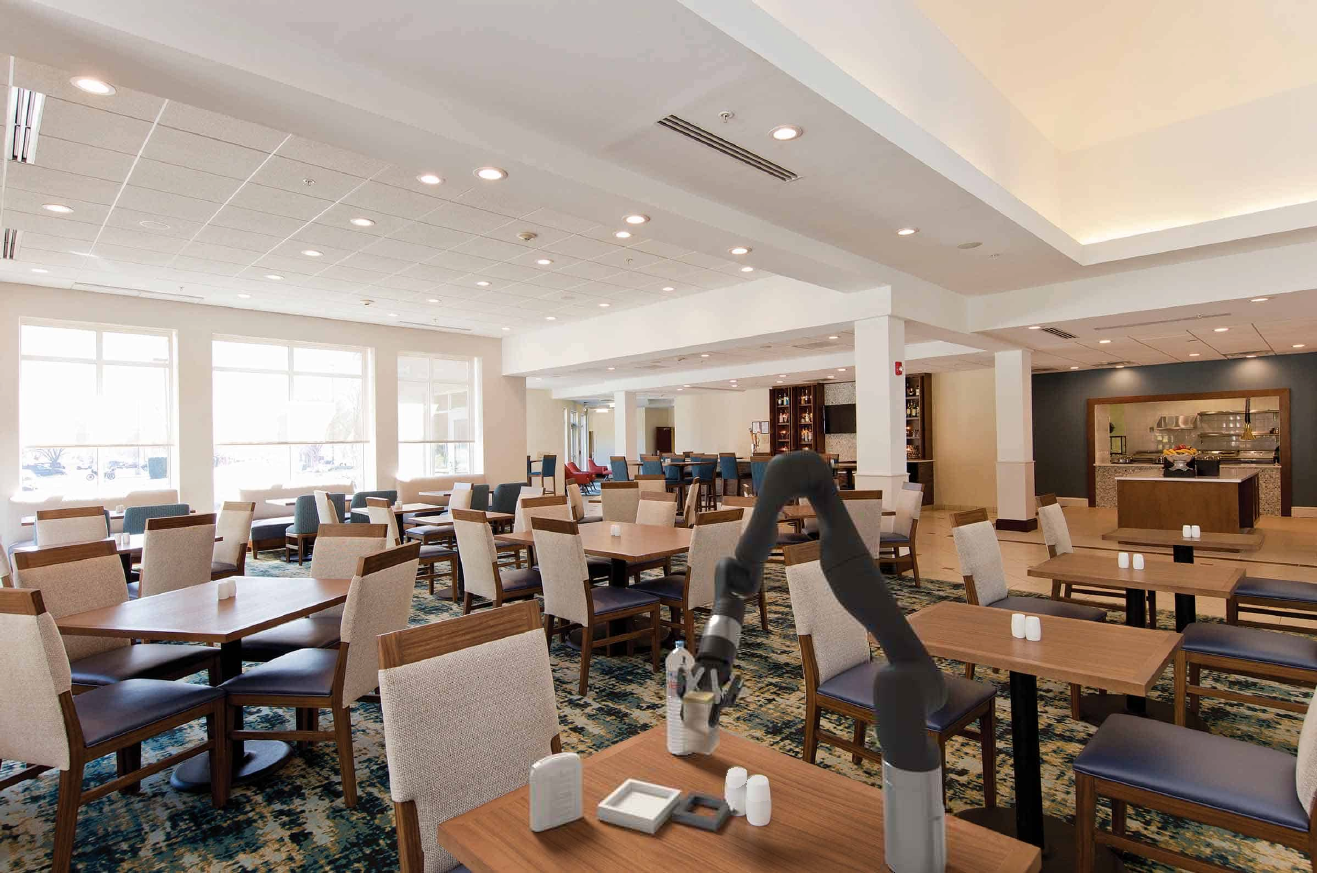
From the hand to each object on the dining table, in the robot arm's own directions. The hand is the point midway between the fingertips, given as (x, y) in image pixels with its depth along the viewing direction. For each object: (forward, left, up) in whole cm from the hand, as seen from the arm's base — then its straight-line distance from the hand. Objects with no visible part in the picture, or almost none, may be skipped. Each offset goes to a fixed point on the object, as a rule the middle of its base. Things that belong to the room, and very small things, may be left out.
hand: (697, 723), depth 128 cm
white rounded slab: (+24, +12, -18) cm, 32 cm away
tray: (+12, +2, -18) cm, 21 cm away
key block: (0, -2, -5) cm, 6 cm away
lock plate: (0, -2, -18) cm, 18 cm away
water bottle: (+16, -26, -18) cm, 35 cm away
